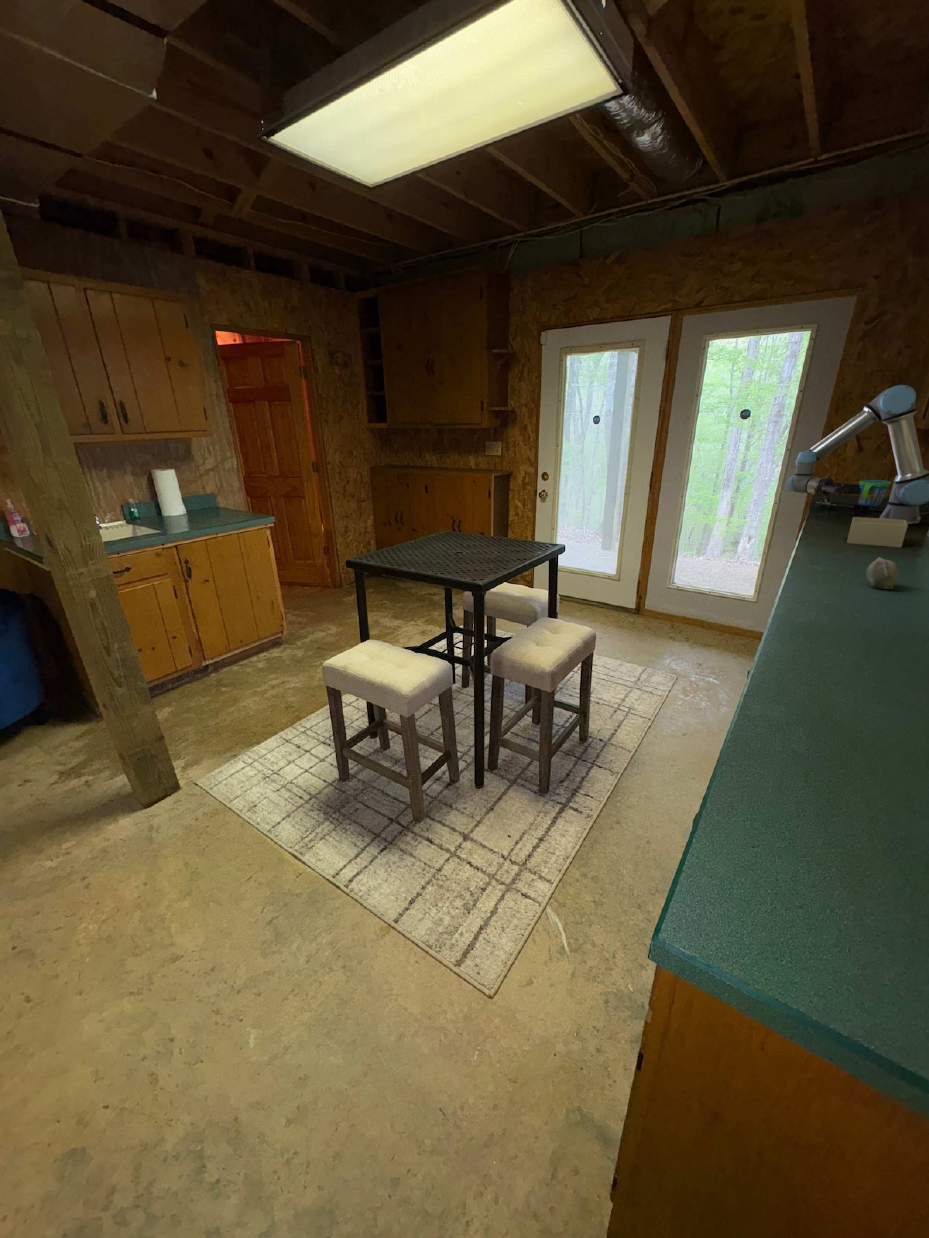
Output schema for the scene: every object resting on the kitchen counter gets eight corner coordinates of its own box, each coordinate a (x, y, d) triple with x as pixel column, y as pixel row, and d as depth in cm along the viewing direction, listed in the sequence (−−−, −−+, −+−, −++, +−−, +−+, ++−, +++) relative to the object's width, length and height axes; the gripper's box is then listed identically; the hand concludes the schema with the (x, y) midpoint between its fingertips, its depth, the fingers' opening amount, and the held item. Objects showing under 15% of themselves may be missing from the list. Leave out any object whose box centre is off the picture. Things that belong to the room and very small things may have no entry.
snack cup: (865, 501, 223) (871, 478, 218) (892, 504, 214) (899, 480, 210) (845, 505, 216) (851, 482, 212) (872, 508, 208) (879, 484, 204)
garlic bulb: (879, 598, 149) (885, 571, 143) (853, 586, 156) (858, 560, 150) (905, 586, 149) (912, 559, 144) (878, 574, 156) (884, 548, 151)
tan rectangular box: (847, 537, 214) (853, 517, 211) (900, 541, 204) (906, 520, 200) (846, 543, 204) (852, 521, 201) (901, 547, 194) (907, 525, 191)
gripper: (836, 492, 239) (885, 496, 220) (801, 496, 231) (848, 501, 212) (840, 476, 236) (889, 479, 217) (804, 480, 228) (853, 483, 209)
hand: (869, 490), depth 215 cm, fingers closed on snack cup, 13 cm apart
